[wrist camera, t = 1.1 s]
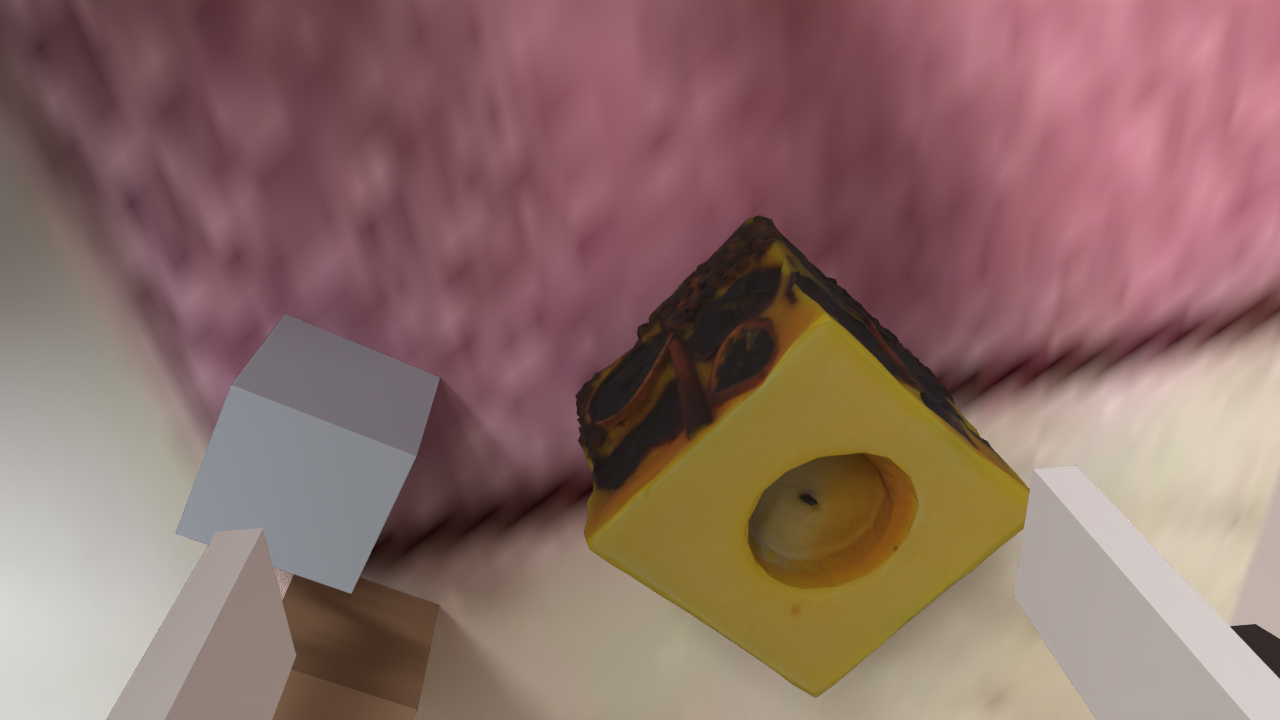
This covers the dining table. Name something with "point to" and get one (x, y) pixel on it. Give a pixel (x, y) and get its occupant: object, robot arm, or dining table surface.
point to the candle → (787, 465)
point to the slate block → (312, 451)
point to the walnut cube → (355, 652)
